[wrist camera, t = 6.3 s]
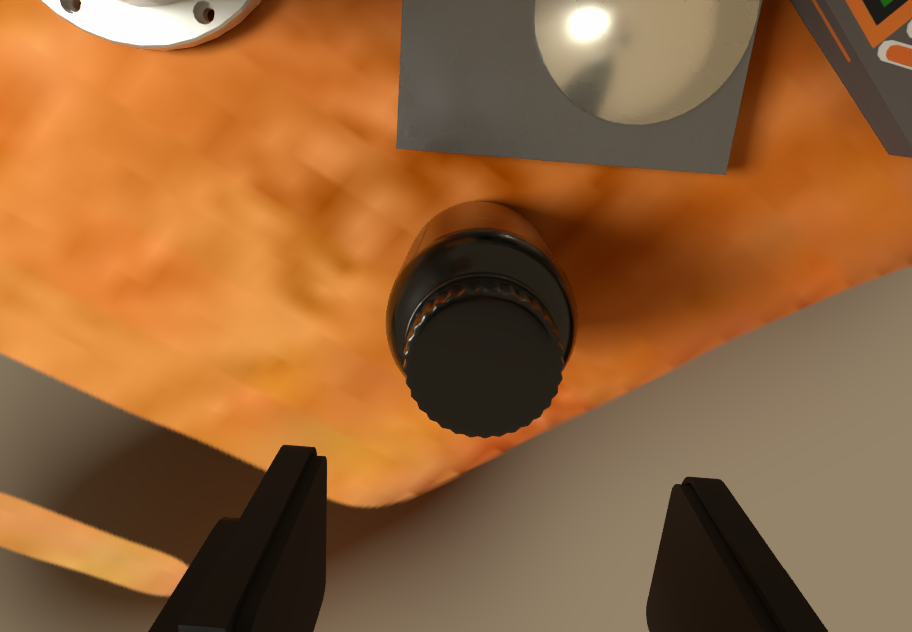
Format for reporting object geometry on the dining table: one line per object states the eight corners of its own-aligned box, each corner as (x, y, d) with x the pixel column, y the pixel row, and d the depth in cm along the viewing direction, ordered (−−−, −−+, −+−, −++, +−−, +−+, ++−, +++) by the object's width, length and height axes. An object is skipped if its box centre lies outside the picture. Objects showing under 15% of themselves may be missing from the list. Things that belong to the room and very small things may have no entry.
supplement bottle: (490, 362, 31) (501, 506, 19) (380, 282, 29) (323, 386, 18) (578, 257, 29) (649, 348, 17) (465, 168, 28) (461, 203, 16)
